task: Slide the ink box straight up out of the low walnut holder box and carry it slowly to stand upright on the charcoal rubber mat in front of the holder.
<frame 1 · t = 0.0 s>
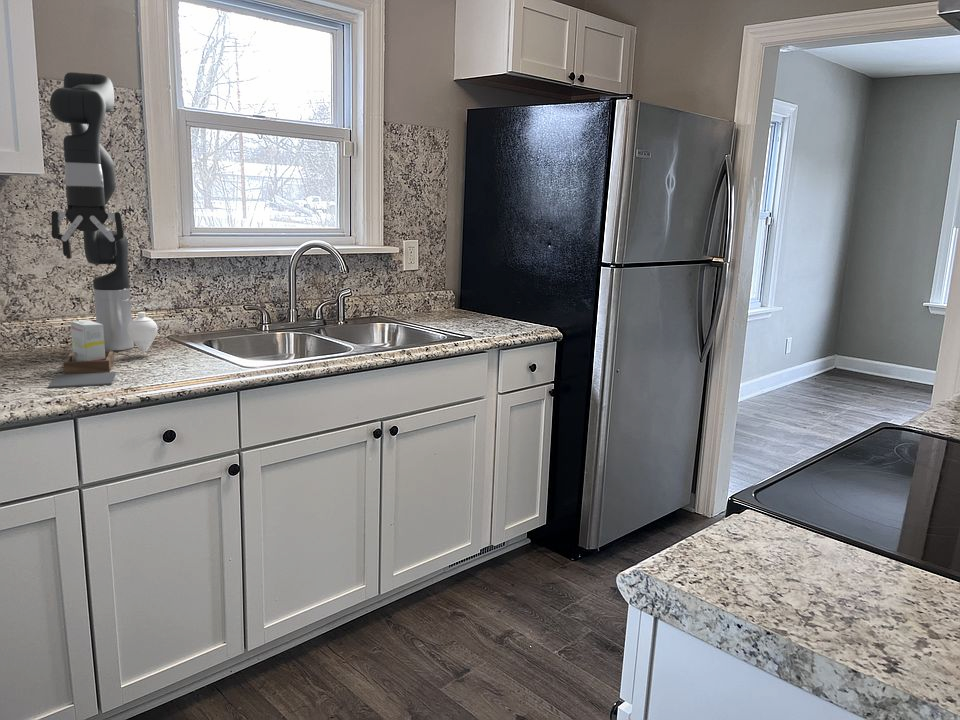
hand: (90, 258, 170), 29 cm above the worktop, fingers open, 8 cm apart
spinning top: (144, 355, 209), on the worktop
ink box: (90, 368, 192), resting in holder box
holder box: (90, 367, 192), on the worktop
rubber mat: (83, 380, 179), on the worktop
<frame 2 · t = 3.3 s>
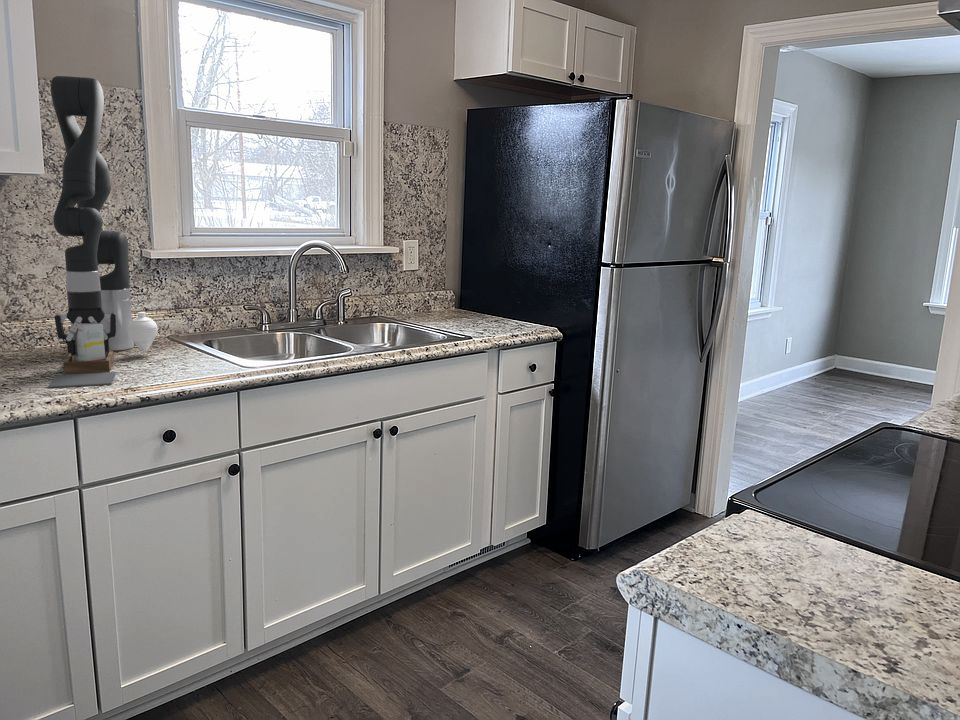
hand: (89, 354, 191), 4 cm above the worktop, fingers closed on ink box, 6 cm apart
ink box: (90, 368, 192), resting in holder box, touching gripper
everything else where it was.
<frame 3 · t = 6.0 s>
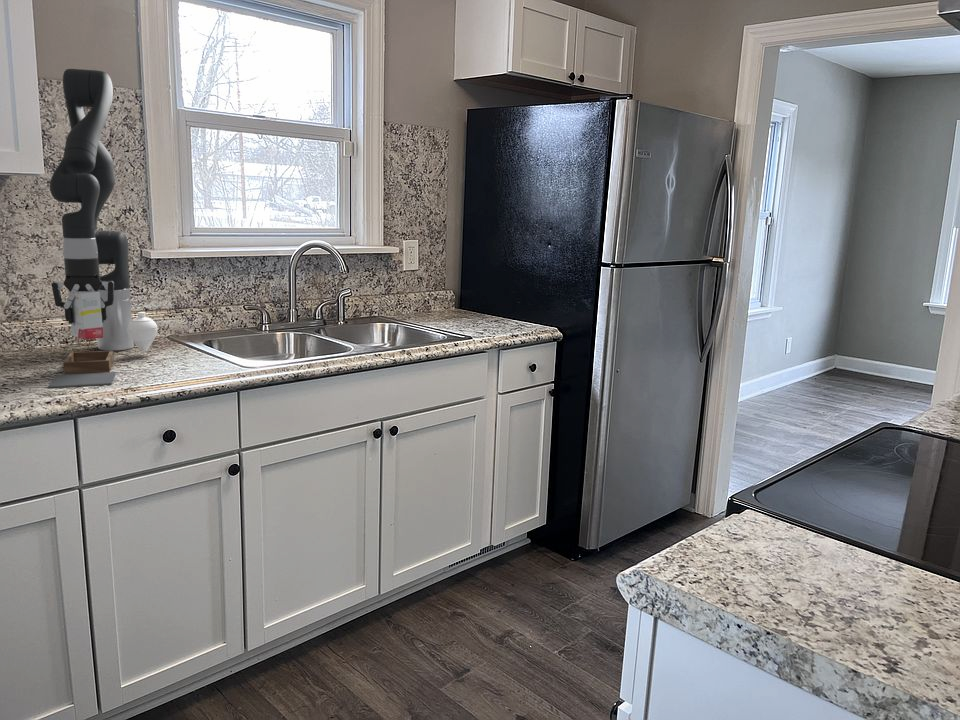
hand: (86, 322, 189), 12 cm above the worktop, fingers closed on ink box, 6 cm apart
ink box: (88, 337, 190), point 8 cm above the worktop, touching gripper
everything else where it was.
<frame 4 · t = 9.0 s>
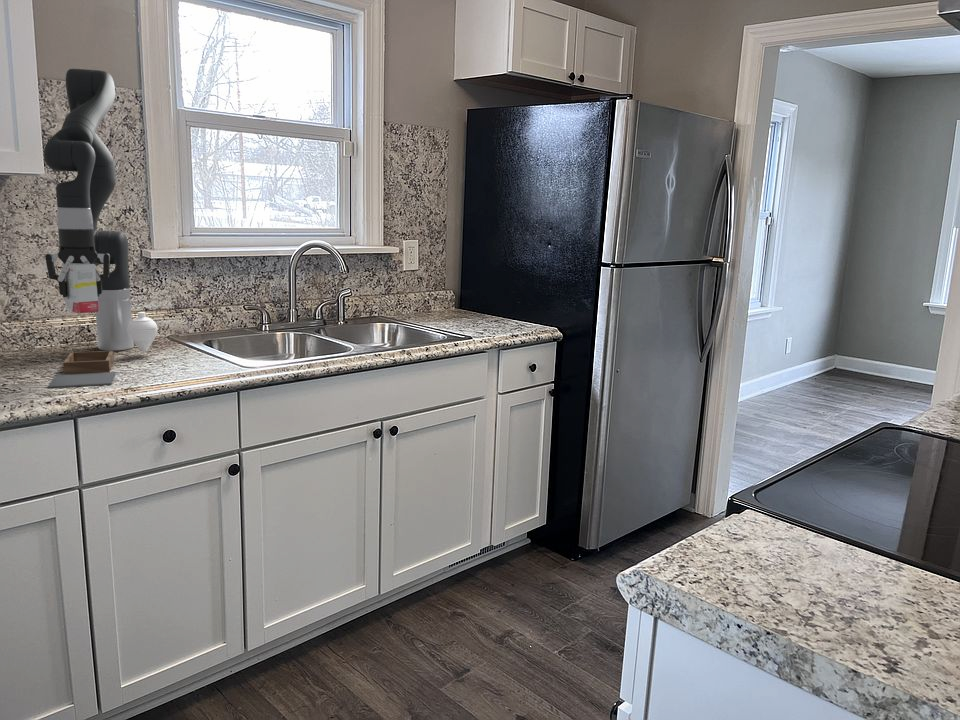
hand: (81, 296, 183), 19 cm above the worktop, fingers closed on ink box, 6 cm apart
ink box: (82, 312, 184), point 15 cm above the worktop, touching gripper
everything else where it was.
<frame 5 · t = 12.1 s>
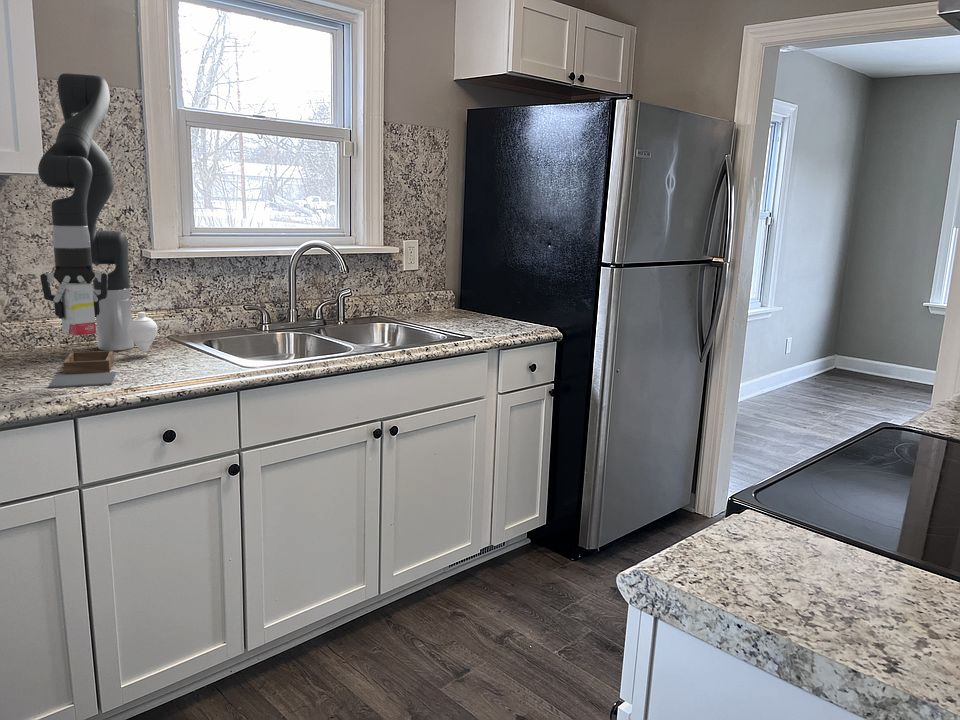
hand: (78, 317, 176), 15 cm above the worktop, fingers closed on ink box, 6 cm apart
ink box: (79, 333, 177), point 11 cm above the worktop, touching gripper
everything else where it was.
when the fingers open (5 cm above the worktop, at t = 14.7 s): ink box drops 1 cm, resting on rubber mat.
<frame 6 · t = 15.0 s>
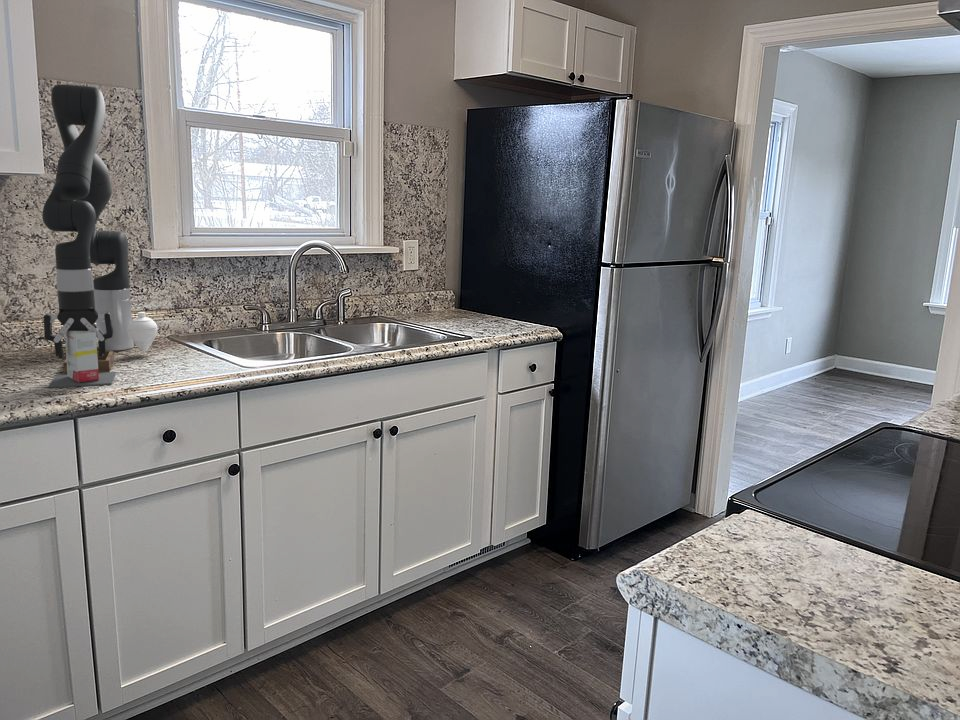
hand: (81, 356, 178), 6 cm above the worktop, fingers open, 8 cm apart
ink box: (83, 379, 179), resting on rubber mat
everything else where it was.
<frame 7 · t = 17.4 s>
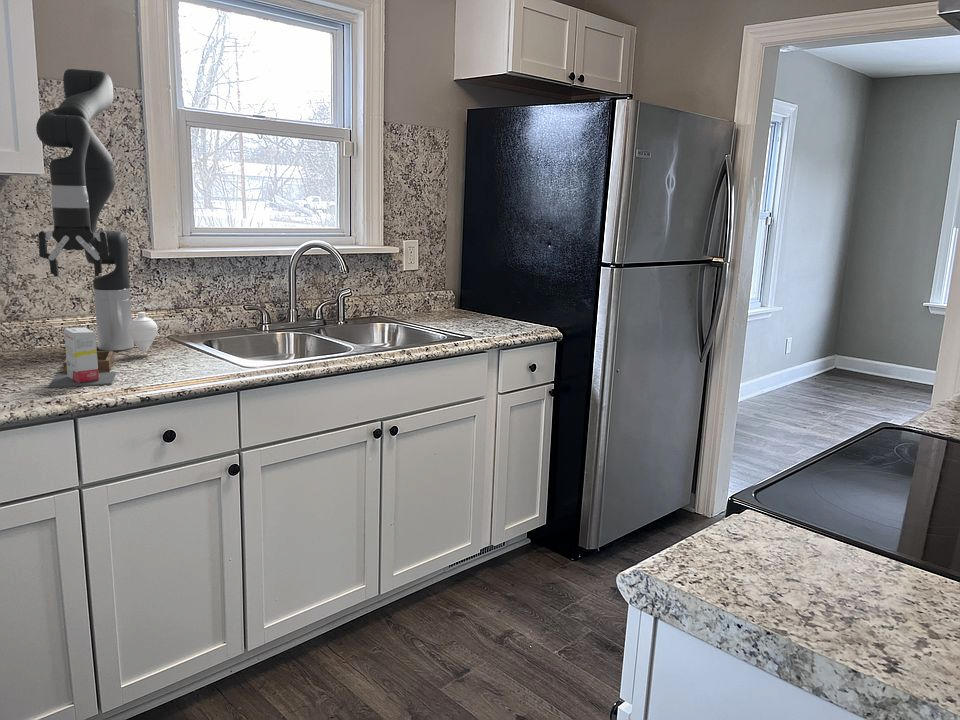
hand: (76, 276, 177), 24 cm above the worktop, fingers open, 8 cm apart
nothing on the worktop moved.
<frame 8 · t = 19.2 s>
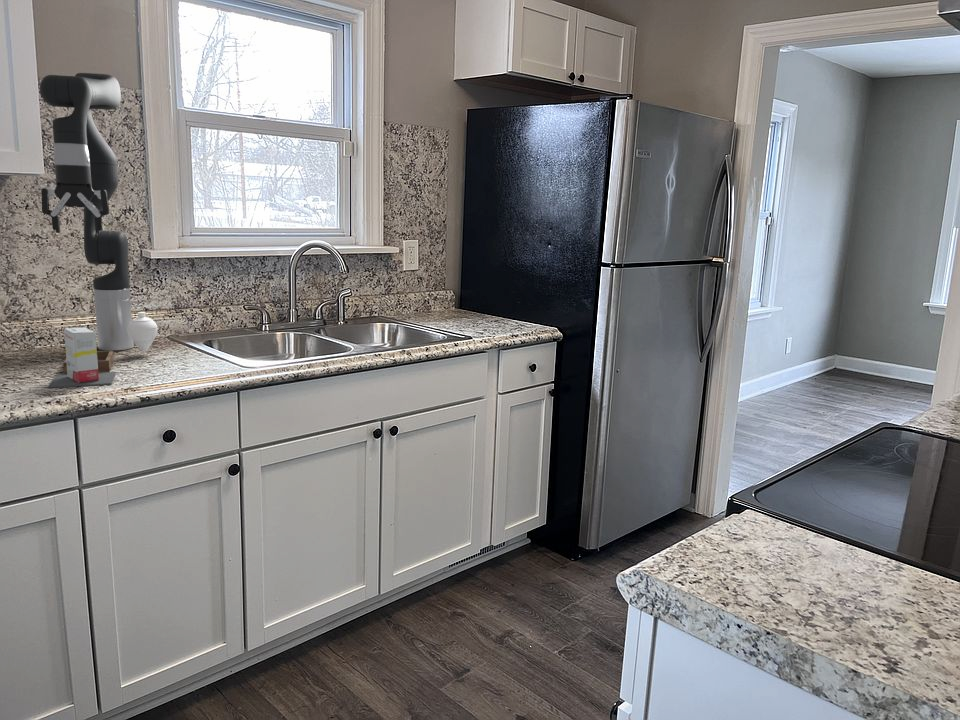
hand: (78, 232, 183), 34 cm above the worktop, fingers open, 8 cm apart
nothing on the worktop moved.
at the end: ink box 0.3 cm off-centre on the rubber mat, point 0.2 cm above the rubber mat's base; ink box tilted 0°; the gripper is holding nothing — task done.
